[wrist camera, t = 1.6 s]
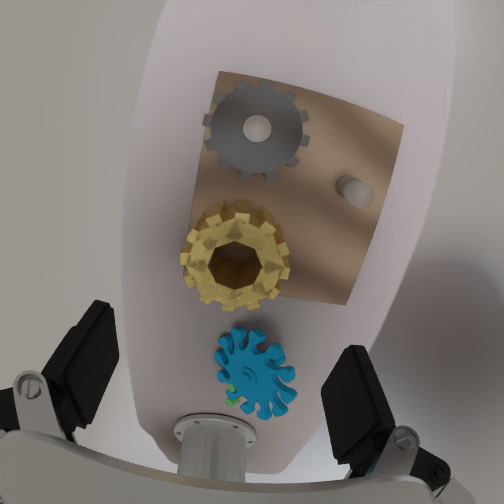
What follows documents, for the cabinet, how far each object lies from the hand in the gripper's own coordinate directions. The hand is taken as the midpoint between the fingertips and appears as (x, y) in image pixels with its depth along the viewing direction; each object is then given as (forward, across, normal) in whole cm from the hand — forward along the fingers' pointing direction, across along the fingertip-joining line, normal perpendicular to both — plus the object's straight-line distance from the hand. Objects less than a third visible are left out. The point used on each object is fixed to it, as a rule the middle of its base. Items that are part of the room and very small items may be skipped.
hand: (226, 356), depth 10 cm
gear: (+14, -4, +14) cm, 20 cm away
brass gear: (+13, 0, +1) cm, 13 cm away
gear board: (+14, -4, -4) cm, 15 cm away
